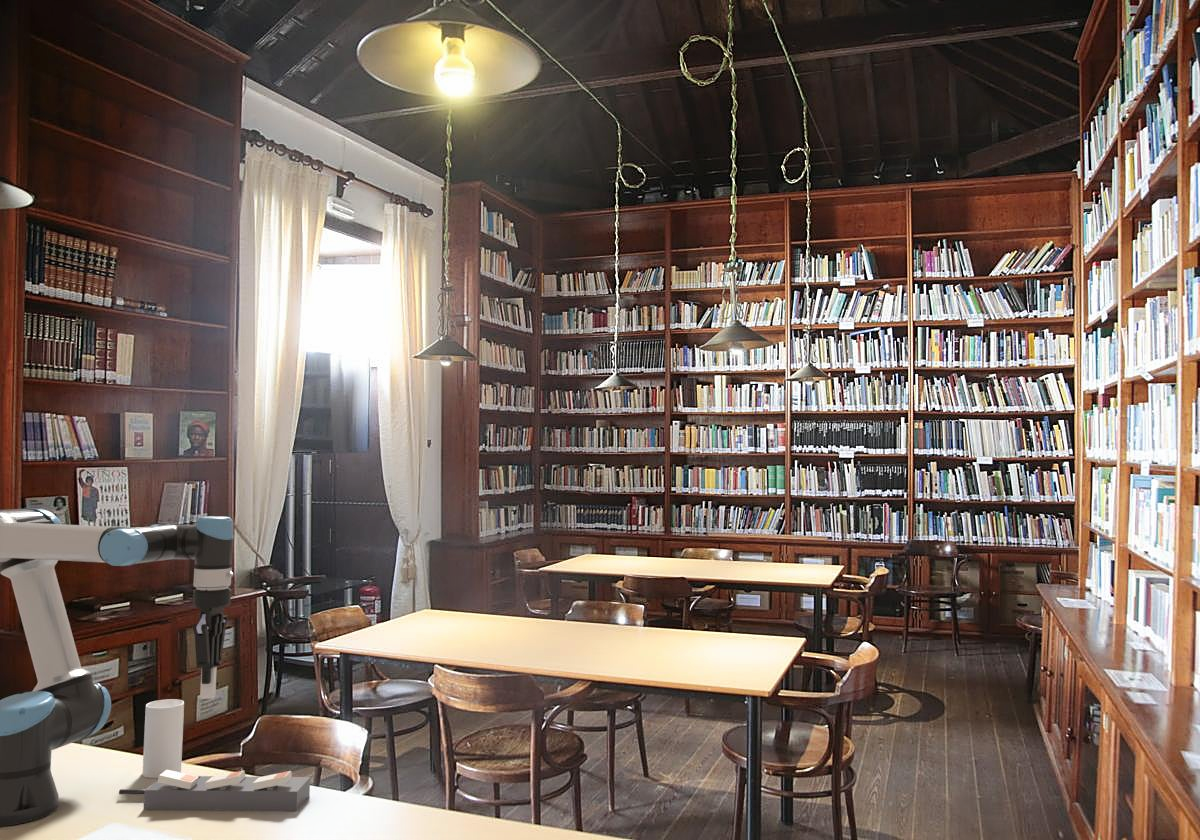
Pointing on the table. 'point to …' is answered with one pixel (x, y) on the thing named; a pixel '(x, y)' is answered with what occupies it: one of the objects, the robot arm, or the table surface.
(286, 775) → the block
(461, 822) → the table surface
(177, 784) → the block
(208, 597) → the robot arm
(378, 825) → the table surface
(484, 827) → the table surface
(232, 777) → the block
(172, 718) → the cup
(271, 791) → the strip
